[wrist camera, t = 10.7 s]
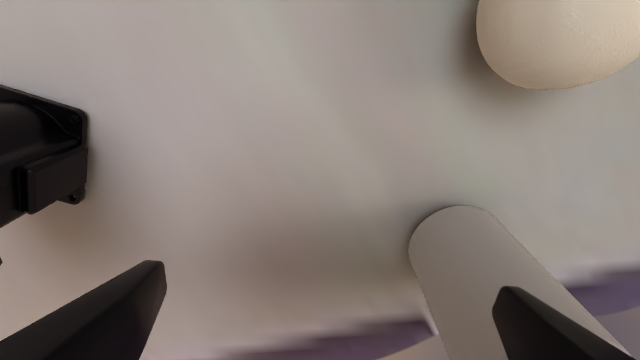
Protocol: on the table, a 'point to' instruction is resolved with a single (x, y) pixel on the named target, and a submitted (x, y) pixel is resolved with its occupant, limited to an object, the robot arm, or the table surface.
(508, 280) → the beverage can
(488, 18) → the beige round lump
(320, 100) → the table surface
